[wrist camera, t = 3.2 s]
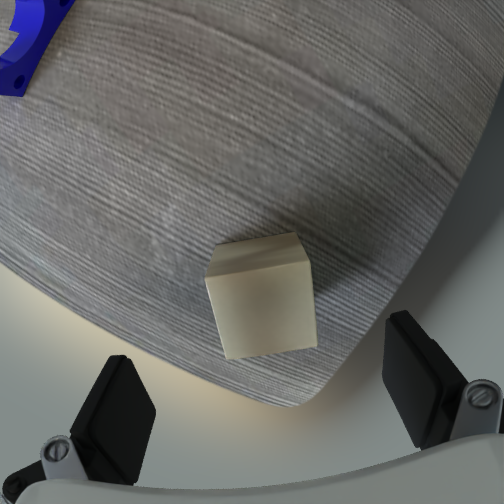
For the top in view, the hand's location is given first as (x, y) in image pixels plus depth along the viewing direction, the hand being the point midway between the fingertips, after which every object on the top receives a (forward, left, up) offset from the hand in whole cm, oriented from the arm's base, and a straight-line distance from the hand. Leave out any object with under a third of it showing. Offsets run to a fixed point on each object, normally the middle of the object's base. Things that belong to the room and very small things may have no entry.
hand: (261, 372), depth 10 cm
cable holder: (+12, -19, -9) cm, 24 cm away
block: (0, 0, -9) cm, 9 cm away
